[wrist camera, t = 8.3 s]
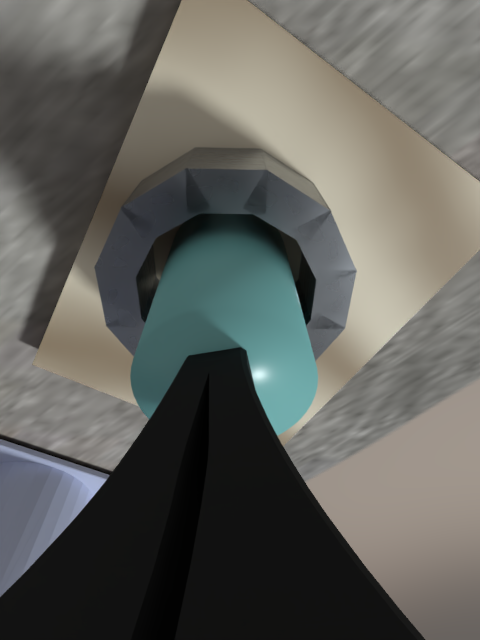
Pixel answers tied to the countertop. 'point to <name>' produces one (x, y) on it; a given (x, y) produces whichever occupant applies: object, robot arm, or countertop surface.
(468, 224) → the pale board
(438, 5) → the countertop surface
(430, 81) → the countertop surface
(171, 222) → the grey faceted ring
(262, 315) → the teal plug
